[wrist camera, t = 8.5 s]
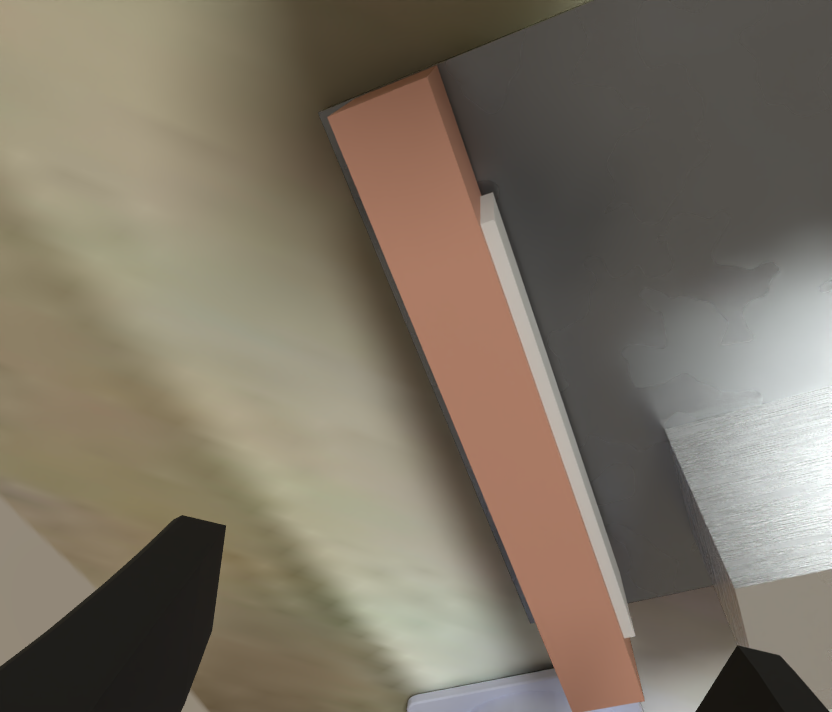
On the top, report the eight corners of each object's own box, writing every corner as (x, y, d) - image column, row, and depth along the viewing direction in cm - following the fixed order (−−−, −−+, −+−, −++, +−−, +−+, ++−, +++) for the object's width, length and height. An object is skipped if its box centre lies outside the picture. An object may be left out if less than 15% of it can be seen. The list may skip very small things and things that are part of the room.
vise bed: (1105, 489, 20) (1244, 596, 16) (529, 611, 23) (538, 719, 20) (1124, -217, 13) (1365, -303, 10) (321, 110, 17) (279, 136, 13)
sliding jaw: (632, 609, 22) (656, 699, 19) (561, 624, 22) (573, 713, 20) (449, 59, 15) (442, 70, 13) (354, 98, 16) (327, 117, 13)
